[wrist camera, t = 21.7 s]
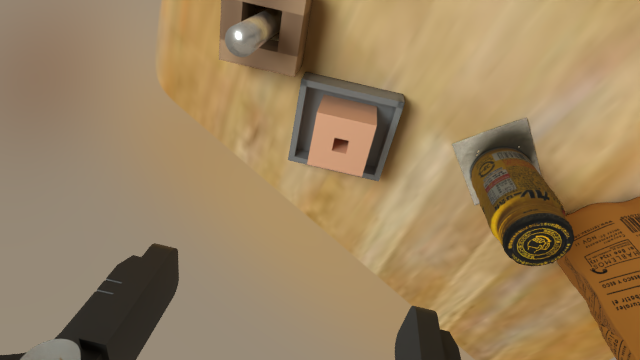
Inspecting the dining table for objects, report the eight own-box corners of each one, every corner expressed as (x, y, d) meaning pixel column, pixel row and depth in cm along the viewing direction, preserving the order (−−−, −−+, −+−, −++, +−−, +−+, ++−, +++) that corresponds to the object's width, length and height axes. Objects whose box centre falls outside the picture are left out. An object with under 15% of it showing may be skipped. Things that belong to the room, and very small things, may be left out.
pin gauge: (286, 10, 34) (256, 28, 26) (283, 34, 35) (253, 60, 27) (263, 5, 34) (225, 21, 26) (260, 29, 35) (224, 53, 27)
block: (363, 153, 40) (361, 176, 36) (314, 142, 40) (307, 164, 36) (376, 106, 37) (376, 125, 33) (323, 94, 37) (316, 112, 33)
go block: (314, -12, 33) (307, -9, 29) (301, 65, 36) (294, 76, 33) (238, -30, 33) (222, -28, 29) (233, 49, 36) (219, 59, 33)
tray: (403, 94, 37) (404, 102, 34) (378, 169, 41) (378, 181, 39) (305, 71, 37) (301, 78, 35) (292, 149, 41) (288, 160, 39)
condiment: (474, 204, 42) (505, 282, 32) (451, 143, 39) (478, 209, 29) (543, 183, 40) (600, 261, 30) (525, 116, 36) (583, 178, 26)
